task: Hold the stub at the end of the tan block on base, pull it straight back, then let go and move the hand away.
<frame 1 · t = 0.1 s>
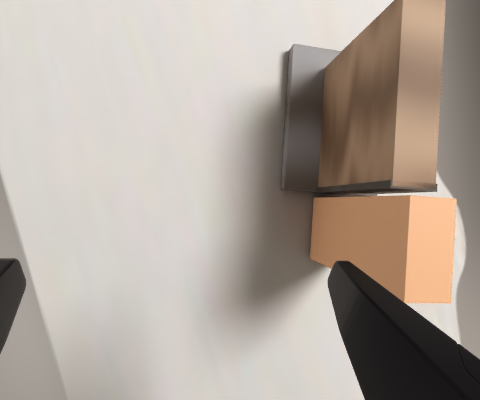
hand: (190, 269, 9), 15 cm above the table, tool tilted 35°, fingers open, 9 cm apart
tan block on base: (330, 133, 26), on the table
stub: (364, 236, 20), point 6 cm above the table, slide at 0.0 cm
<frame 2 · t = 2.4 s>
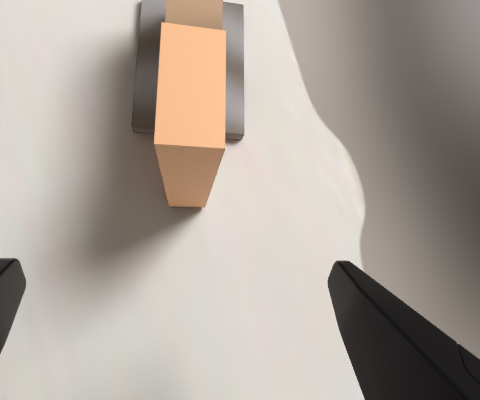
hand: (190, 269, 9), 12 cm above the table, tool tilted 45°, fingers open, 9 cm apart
tan block on base: (191, 76, 24), on the table
stub: (189, 142, 17), point 6 cm above the table, slide at 0.0 cm
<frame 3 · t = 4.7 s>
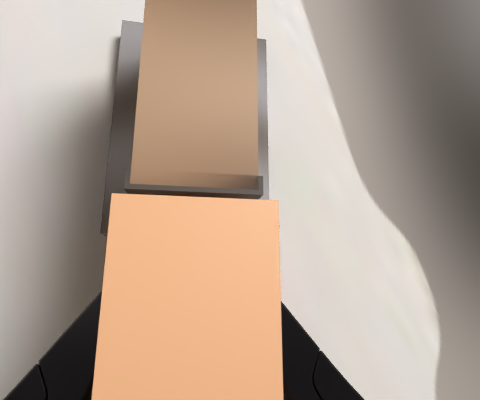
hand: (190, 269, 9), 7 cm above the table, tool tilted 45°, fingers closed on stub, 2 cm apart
tan block on base: (192, 145, 17), on the table
stub: (187, 316, 9), point 6 cm above the table, slide at 0.0 cm, touching gripper
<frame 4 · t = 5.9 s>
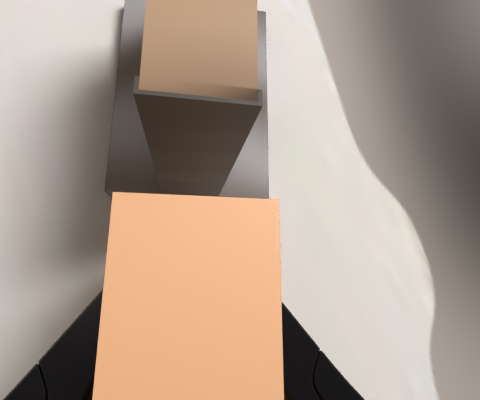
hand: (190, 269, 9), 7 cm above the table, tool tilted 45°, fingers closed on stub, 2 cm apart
tan block on base: (193, 112, 17), on the table
stub: (187, 316, 9), point 6 cm above the table, slide at 2.0 cm, touching gripper
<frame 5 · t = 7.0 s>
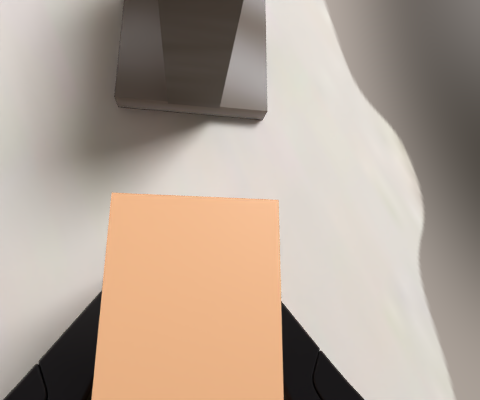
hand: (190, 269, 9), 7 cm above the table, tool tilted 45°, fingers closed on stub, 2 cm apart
tan block on base: (196, 36, 18), on the table
stub: (187, 316, 9), point 6 cm above the table, slide at 6.9 cm, touching gripper
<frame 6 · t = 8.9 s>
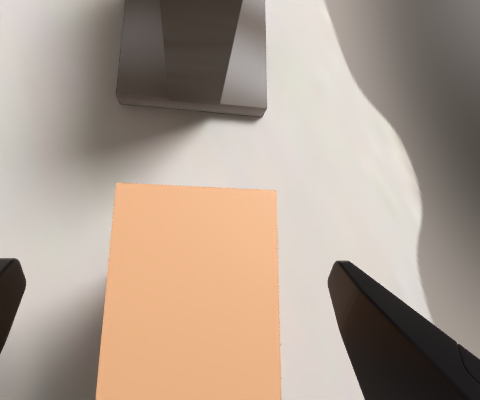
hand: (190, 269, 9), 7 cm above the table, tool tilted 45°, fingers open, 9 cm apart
tan block on base: (197, 34, 18), on the table
stub: (188, 308, 10), point 6 cm above the table, slide at 7.0 cm
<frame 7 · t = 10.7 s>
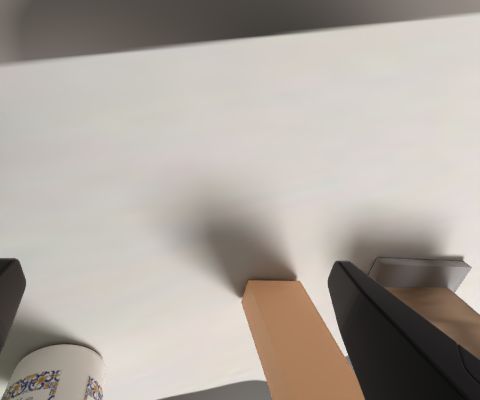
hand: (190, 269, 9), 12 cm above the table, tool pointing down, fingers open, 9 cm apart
tan block on base: (399, 289, 32), on the table
stub: (295, 344, 23), point 6 cm above the table, slide at 7.0 cm
bath foam: (63, 366, 26), on the table
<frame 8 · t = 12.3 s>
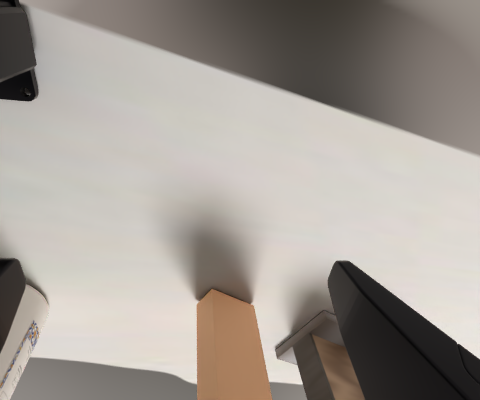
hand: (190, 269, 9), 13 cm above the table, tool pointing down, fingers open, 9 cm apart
tan block on base: (328, 343, 36), on the table
stub: (231, 361, 25), point 6 cm above the table, slide at 7.0 cm
bath foam: (7, 300, 26), on the table
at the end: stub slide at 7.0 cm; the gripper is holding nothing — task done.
